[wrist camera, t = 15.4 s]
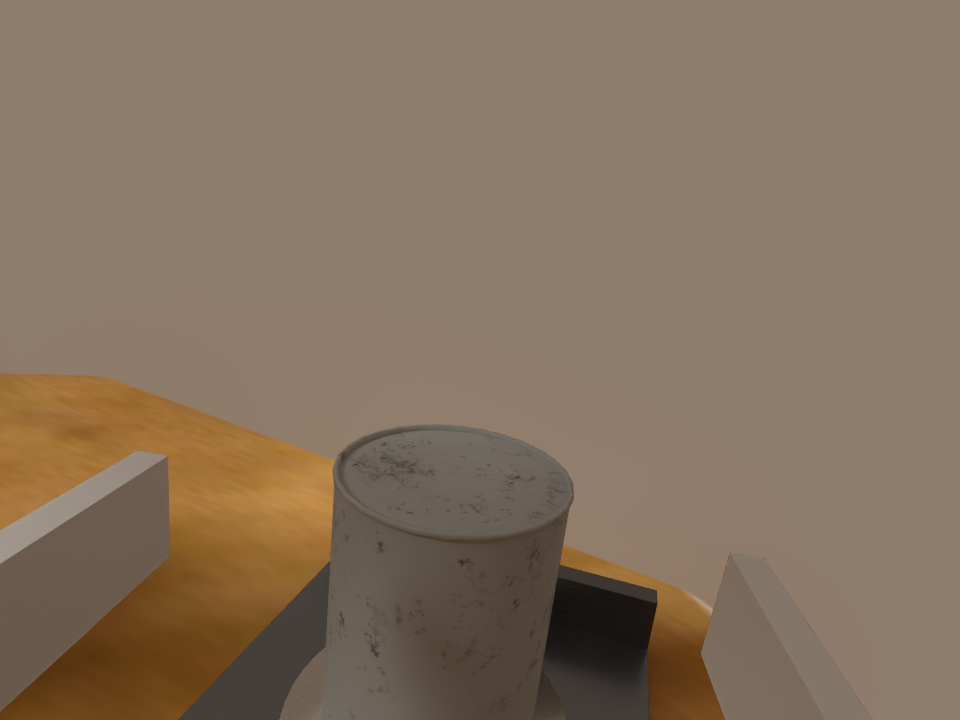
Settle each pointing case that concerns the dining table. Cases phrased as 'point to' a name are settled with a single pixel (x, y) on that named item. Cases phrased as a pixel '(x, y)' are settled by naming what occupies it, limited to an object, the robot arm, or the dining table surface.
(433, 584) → the speckled tin can
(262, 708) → the plate
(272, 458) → the dining table surface
